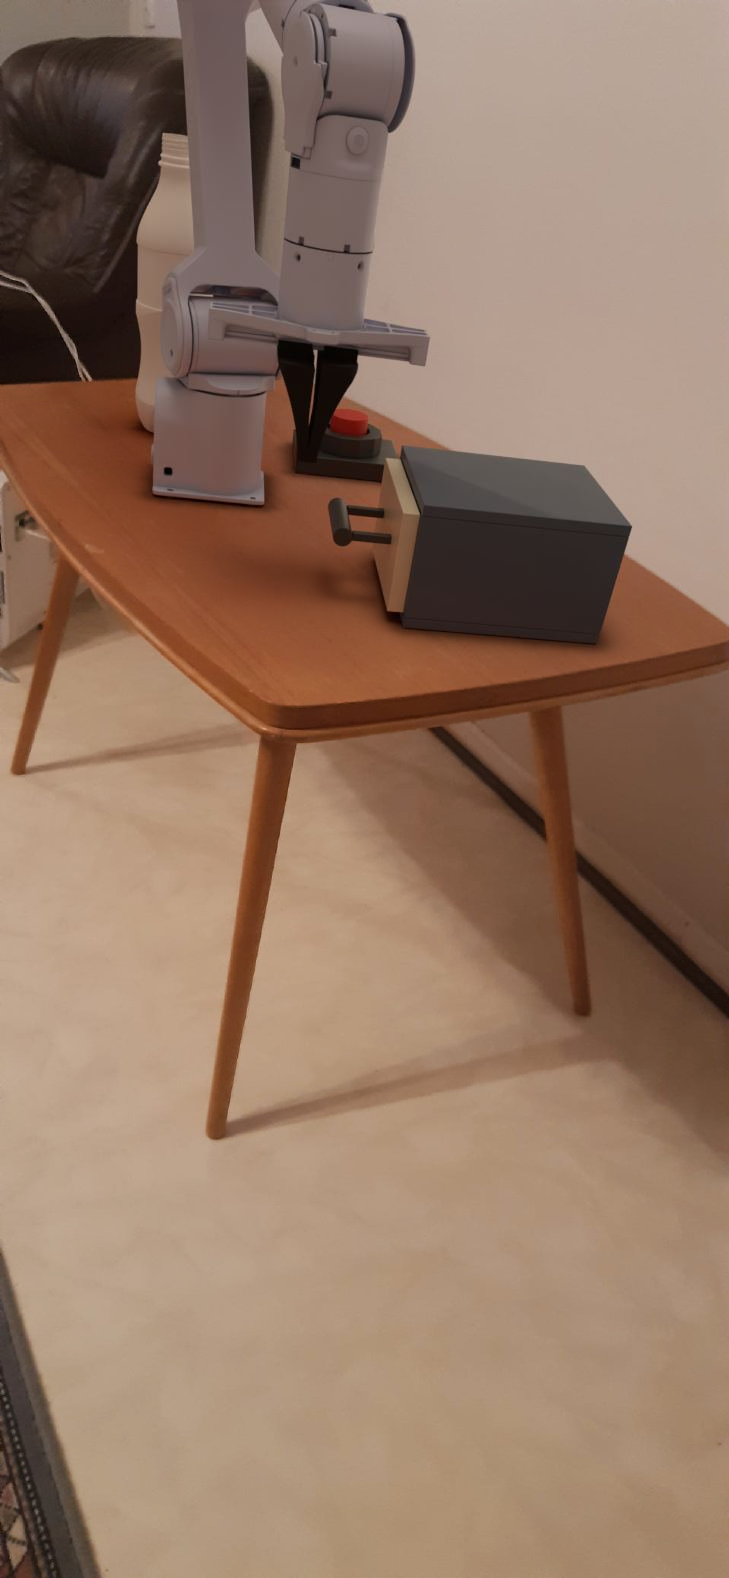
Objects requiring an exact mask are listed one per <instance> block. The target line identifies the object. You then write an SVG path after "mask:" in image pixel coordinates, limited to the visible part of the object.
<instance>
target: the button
mask: <svg viewBox="0 0 729 1578" xmlns="http://www.w3.org/2000/svg"><path fill="white" fill-rule="evenodd" d="M369 419H370V417H369V415H368V414H367V413H364V412H362V411H360V410H356V409H350V408H336V410H335V412H334V414H333V416H332V418H331V421H330V430H332V431H333V432H336V433H340V434H343V435H352V436H363V435H366V434H367V427H368V424H369Z"/></svg>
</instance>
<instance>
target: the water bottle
mask: <svg viewBox="0 0 729 1578" xmlns="http://www.w3.org/2000/svg"><path fill="white" fill-rule="evenodd" d="M161 140H162V141H161V153H160V156H159V157H161V158H160V160H159V161H158V162H157V164H158V166H160V174H159V180H158V183H157V186H156V189H155V191H154V193H153V195H152V196H151V198H150V201H149V202H148V205H147V206H146V209H145V210H144V213H143V214H142V217H141V220H140V221H139V225H138V227H137V233H136V244H137V296H136V297H137V298H136V300H135V315H136V319H137V324H138V329H139V336H140V361H139V370H138V376H137V380H136V384H135V388H134V389H135V396H134V397H135V399H134V400H135V407H136V411H137V414H138V418H139V420H140V422H141V424H142V426H143V428H144V429H145V430H146V431H148V432H150V433H152V434H154V410H155V393H156V383H157V378H158V377H174V376H173V375H172V374H171V372H170V371H169V370H168V369H167V367H166V365H165V363H164V359H163V355H162V350H161V340H160V320H161V312H162V286H163V283H164V281H165V278H166V276H167V274H168V273H169V272H170V271H171V270H172V269H173V268H174V267H175V266H176V265H178V264H179V263H180V262H181V261H183V260H184V259H185V258H186V257H188V256H189V255H190V254H191V253H193V251H194V236H193V219H192V202H191V185H190V168H189V151H188V135H184V134H179V133H178V134H177V133H170V132H169V133H168V132H163V133H162V135H161ZM190 295H192V296H209V297H214V295H204V294H190Z"/></svg>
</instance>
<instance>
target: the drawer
mask: <svg viewBox="0 0 729 1578" xmlns="http://www.w3.org/2000/svg"><path fill="white" fill-rule="evenodd" d="M378 499H379V500H378V505H377V507H372V506H362V505H354V504H353V505H352V504H347V503H346V501H345V500H344V499H343V498H341V497H334V498H332V499H330V500H329V502H328V504H327V511H328V516H329V523H330V529H331V535H332V541H333V542H334V544H335V545H337V546H338V547H346V546H349V545H350V544H351V543H352V542H360V543H371V544H372V545H371V546H372V547H371V549H372V553H373V558H374V561H375V565H376V570H377V574H378V577H379V582H380V586H381V591H382V595H383V599H384V603H385V607H386V611H387V612H393V613H399V612H404V607H405V601H406V595H407V590H408V584H409V578H410V572H411V566H412V561H413V555H414V549H415V543H416V538H417V532H418V526H419V520H420V514H421V511H420V508H419V505H418V502H417V500H416V497H415V494H414V496H413V493H412V490H411V487H410V484H409V482H408V479H407V476H406V473H405V470H404V468H403V465H402V462H401V460H400V458H398V459H391V458H386V459H385V465H384V471H383V478H382V482H381V486H380V491H379V498H378ZM350 516H354V517H363V518H375V525H374V532H373V531H364V530H353V529H352V526H351V522H350V521H351V520H350Z"/></svg>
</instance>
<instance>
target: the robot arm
mask: <svg viewBox="0 0 729 1578" xmlns="http://www.w3.org/2000/svg"><path fill="white" fill-rule="evenodd" d="M176 4H177V14H178V21H179V28H180V39H181V49H182V63H183V79H184V80H183V81H184V97H185V99H184V100H185V114H186V115H185V116H186V117H185V118H186V130H187V131H186V132H187V136H188V151H189V168H190V185H191V202H192V219H193V236H194V251H193V253H191V254H190V255H189V256H188V257H186V258H185V259H184V260H183V261H181V262H180V263H179V264H178V265H176V266H175V267H174V268H173V269H172V270H171V271H170V272H169V273H168V274H167V276H166V278H165V281H164V283H163V286H162V312H161V320H160V340H161V350H162V355H163V359H164V363H165V365H166V367H167V369H168V370H169V371H170V372H171V374H172V375H173V376H174V377H158V378H157V383H156V393H155V410H154V433H153V443H151V447H150V449H151V451H150V465H151V466H153V467H152V468H153V469H152V488H151V491H152V494H153V495H156V496H162V497H174V498H182V499H183V498H184V499H191V500H202V501H214V502H222V503H233V504H241V505H242V504H243V505H254V506H264V504H265V475H264V474H265V472H264V471H263V470H261V469H262V459H263V458H262V457H263V447H264V446H263V445H264V434H265V432H264V431H265V419H266V408H267V407H266V406H267V393H268V392H274V391H275V384H276V382H277V381H280V380H281V379H283V382H284V385H285V386H284V387H285V389H286V392H287V396H288V399H289V404H290V407H291V412H292V416H293V422H294V429H295V430H296V459H297V461H301V462H310V463H316V462H317V457H318V453H319V449H320V446H321V443H322V440H323V437H324V434H325V432H326V429H327V427H328V425H329V422H330V420H331V418H332V416H333V414H334V412H335V410H336V409H338V406H339V404H340V402H341V401H342V399H343V398H344V396H345V394H346V393H347V391H348V390H349V388H350V386H351V385H352V384H353V383H354V380H355V378H356V375H357V374H358V371H359V362H358V358H359V357H360V356H361V357H366V358H367V357H368V358H375V359H383V360H390V361H391V360H392V361H398V362H399V361H400V362H407V363H408V364H410V365H411V366H417V367H426V365H427V359H428V353H429V347H430V341H431V336H430V334H429V332H428V331H427V329H424V328H417V327H410V326H404V325H400V324H395V323H389V322H385V321H380V320H376V319H370V318H366V309H367V303H368V295H369V286H370V278H371V271H372V264H373V255H374V248H375V241H376V235H377V234H376V232H377V225H378V217H379V210H380V203H381V194H382V186H383V179H384V172H385V171H384V170H385V163H386V156H387V148H388V140H389V134H391V133H394V132H395V131H396V130H397V129H398V128H399V127H400V125H401V124H402V122H403V121H404V119H405V116H406V115H407V112H408V109H409V106H410V103H411V99H412V96H413V91H414V85H415V78H416V49H415V47H416V46H415V41H414V37H413V34H412V31H411V28H410V26H409V23H408V19H407V16H405V15H403V14H401V13H396V12H386V13H383V12H378V11H376V12H375V11H374V9H373V7H372V5H371V3H370V2H369V0H176ZM260 9H261V11H262V13H263V16H264V18H265V20H266V21H267V25H269V28H270V30H271V32H272V35H273V36H274V38H275V40H276V42H277V45H278V46H279V48H280V51H281V52H282V56H281V62H280V63H281V64H280V65H281V66H280V84H281V95H282V103H283V109H284V124H283V125H284V126H283V140H284V145H283V146H284V150H285V151H286V152H288V153H290V157H289V169H288V180H287V181H288V182H287V193H286V205H285V218H284V228H283V229H284V230H283V241H282V254H281V264H280V265H281V266H280V274H278V273H277V272H276V271H275V269H273V267H271V266H270V265H269V264H268V263H267V262H266V261H265V260H264V259H263V258H262V257H261V256H260V255H259V254H258V253H257V251H256V242H255V239H256V238H255V220H254V219H255V217H254V198H253V197H254V196H253V195H254V194H253V175H252V173H253V172H252V153H251V152H252V151H251V150H252V149H251V147H252V146H251V128H250V106H249V105H250V104H249V103H250V102H249V82H248V58H247V35H246V34H247V33H246V23H247V20H248V18H249V15H250V14H252V13H253V12H255V11H257V10H260ZM190 294H204V295H213V297H209V296H192V295H190ZM315 351H316V355H315ZM315 358H316V363H315ZM312 397H313V400H312ZM311 405H312V406H311ZM310 412H311V413H310Z"/></svg>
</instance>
